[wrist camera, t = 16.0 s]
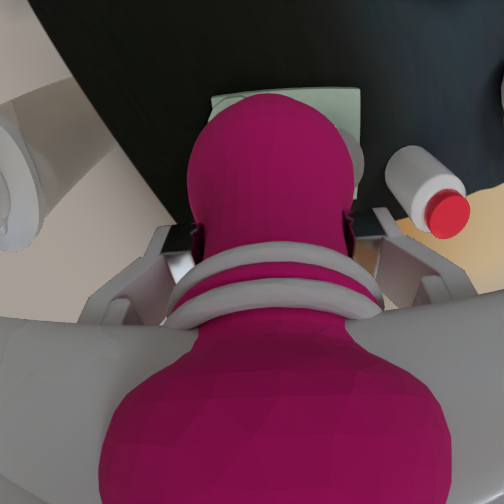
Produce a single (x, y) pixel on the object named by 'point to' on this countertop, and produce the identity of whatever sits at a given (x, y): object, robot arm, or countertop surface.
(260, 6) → the countertop surface
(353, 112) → the scale
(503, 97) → the white round vase
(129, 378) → the robot arm
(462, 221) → the pill bottle
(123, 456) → the pepper mill
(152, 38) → the countertop surface
